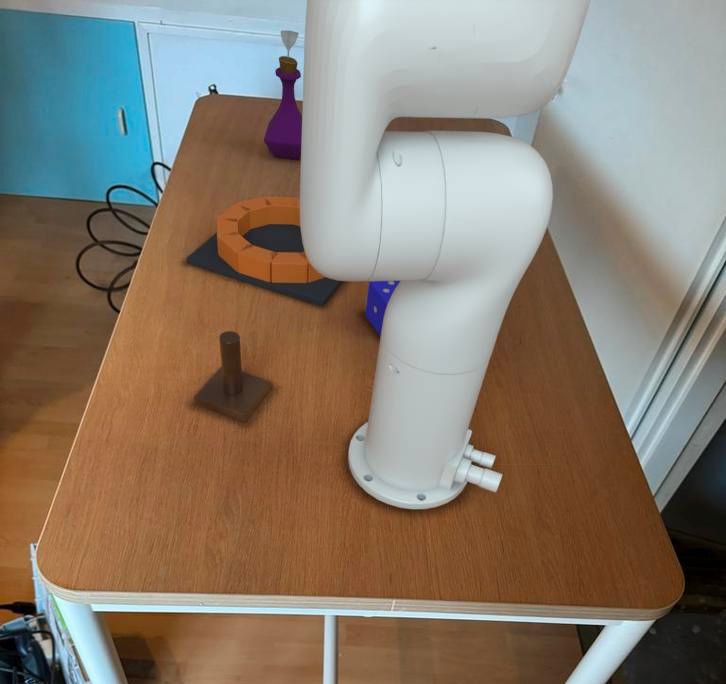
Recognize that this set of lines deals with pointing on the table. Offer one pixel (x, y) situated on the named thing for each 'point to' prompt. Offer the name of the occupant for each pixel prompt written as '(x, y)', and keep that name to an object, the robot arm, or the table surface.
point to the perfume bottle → (286, 108)
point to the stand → (232, 384)
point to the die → (379, 301)
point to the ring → (255, 258)
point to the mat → (273, 240)
